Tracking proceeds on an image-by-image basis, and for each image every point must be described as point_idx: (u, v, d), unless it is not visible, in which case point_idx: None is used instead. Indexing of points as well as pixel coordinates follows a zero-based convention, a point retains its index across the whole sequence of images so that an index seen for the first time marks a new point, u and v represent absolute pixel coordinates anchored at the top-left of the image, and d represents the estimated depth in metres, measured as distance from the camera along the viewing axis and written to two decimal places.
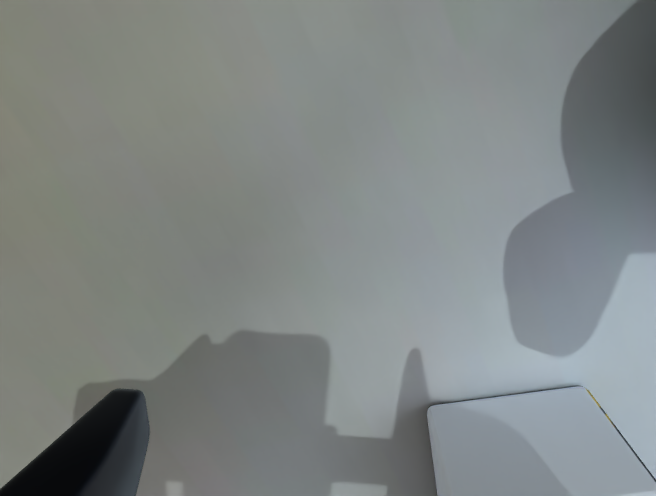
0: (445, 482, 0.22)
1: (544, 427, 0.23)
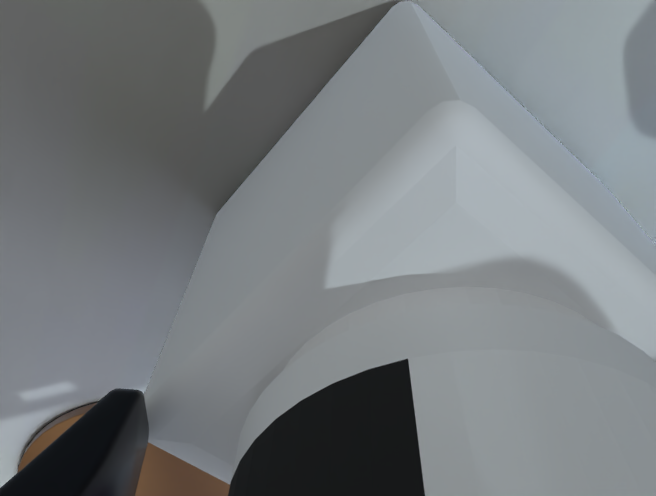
0: (423, 60, 0.08)
1: (581, 172, 0.11)
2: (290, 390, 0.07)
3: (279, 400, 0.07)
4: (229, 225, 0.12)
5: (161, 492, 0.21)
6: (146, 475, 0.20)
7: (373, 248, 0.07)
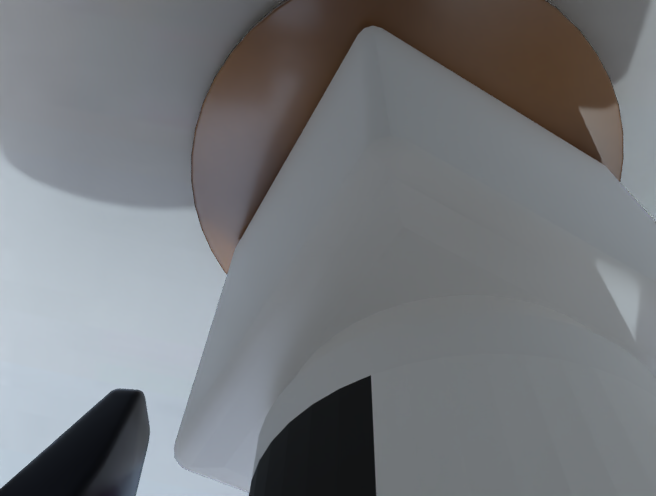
0: (370, 95, 0.09)
1: (560, 160, 0.12)
2: (282, 414, 0.07)
3: (274, 424, 0.07)
4: (242, 260, 0.13)
5: None
6: None
7: (341, 275, 0.08)
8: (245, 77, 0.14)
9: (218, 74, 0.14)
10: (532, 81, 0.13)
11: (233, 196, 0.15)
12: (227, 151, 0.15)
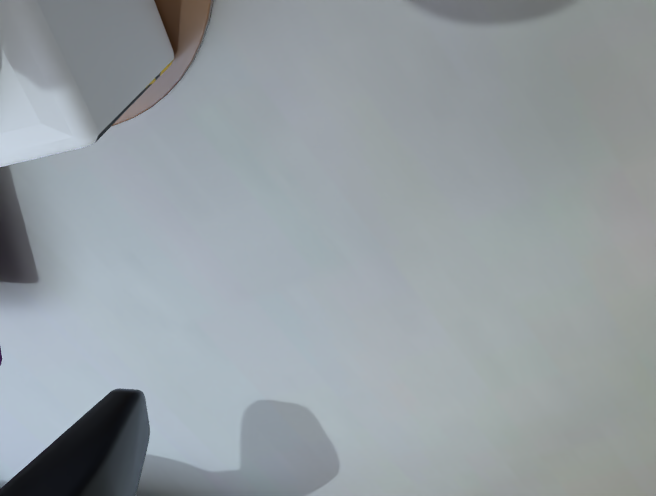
0: None
1: None
2: None
3: None
4: None
5: None
6: None
7: None
8: None
9: None
10: None
11: None
12: None
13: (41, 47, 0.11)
